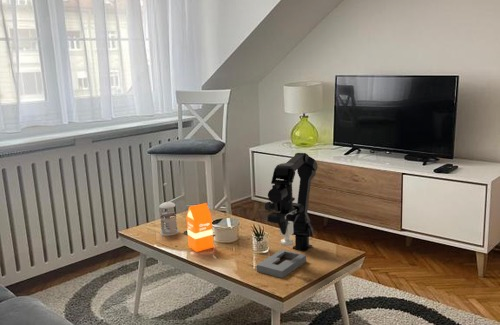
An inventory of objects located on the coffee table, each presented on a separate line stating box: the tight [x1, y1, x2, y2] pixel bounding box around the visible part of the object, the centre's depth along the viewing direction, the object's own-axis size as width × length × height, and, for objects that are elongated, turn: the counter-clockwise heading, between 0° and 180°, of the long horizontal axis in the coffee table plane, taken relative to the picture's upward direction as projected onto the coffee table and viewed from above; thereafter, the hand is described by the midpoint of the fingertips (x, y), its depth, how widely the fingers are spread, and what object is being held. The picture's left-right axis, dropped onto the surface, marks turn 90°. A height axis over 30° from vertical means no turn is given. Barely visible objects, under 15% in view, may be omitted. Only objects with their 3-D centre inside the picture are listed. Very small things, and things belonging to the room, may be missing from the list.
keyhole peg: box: [279, 221, 294, 247], centre depth 208 cm, size 5×5×9 cm
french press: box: [158, 182, 180, 237], centre depth 251 cm, size 10×12×25 cm
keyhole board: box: [256, 249, 307, 279], centre depth 207 cm, size 18×12×3 cm, turn 143°
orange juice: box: [186, 202, 214, 253], centre depth 230 cm, size 8×9×20 cm
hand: (286, 232), depth 208 cm, fingers closed on keyhole peg, 4 cm apart
